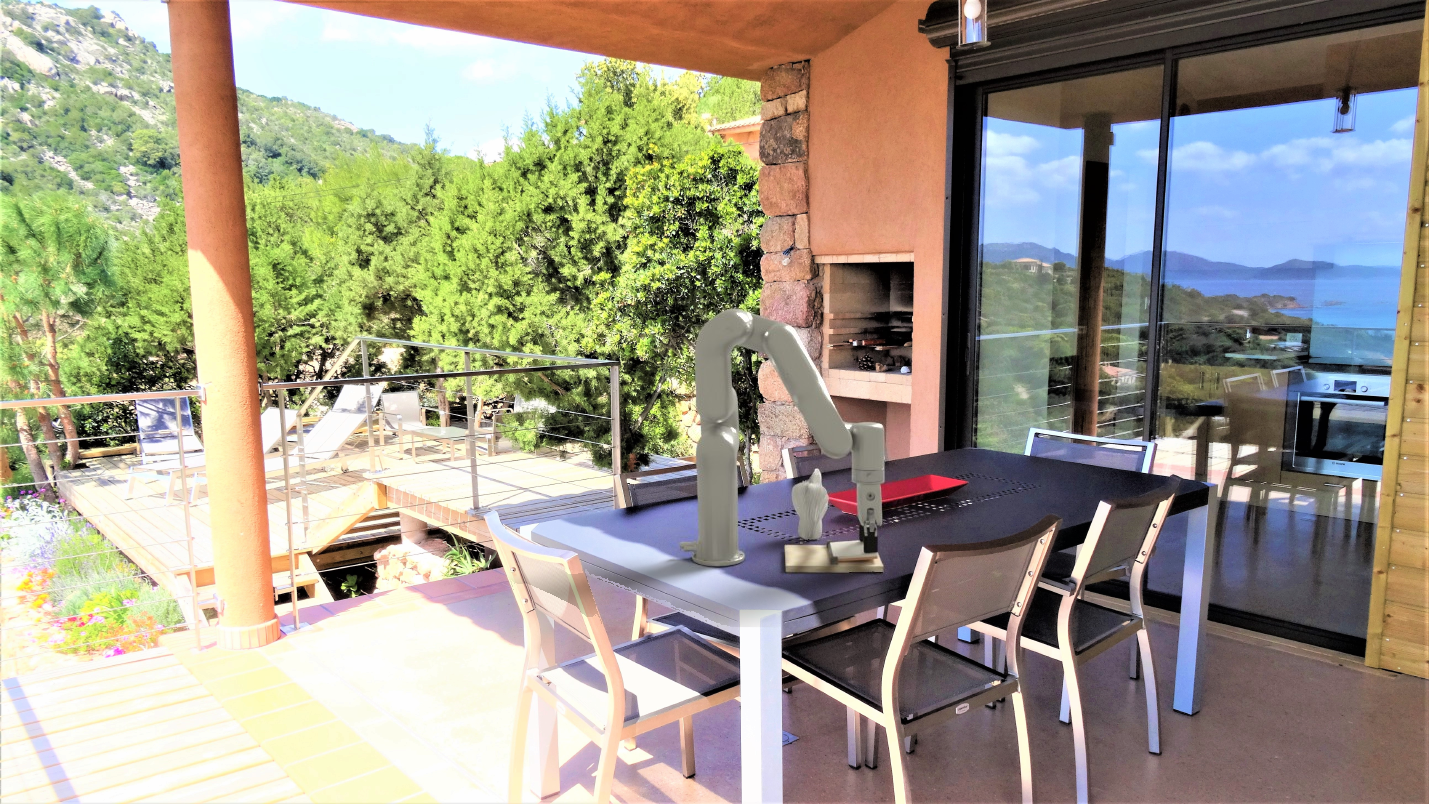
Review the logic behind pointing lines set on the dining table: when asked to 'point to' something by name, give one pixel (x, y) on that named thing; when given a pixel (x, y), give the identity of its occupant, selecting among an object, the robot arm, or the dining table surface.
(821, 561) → the board
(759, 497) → the dining table surface
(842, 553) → the tile
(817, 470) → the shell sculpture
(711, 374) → the robot arm
